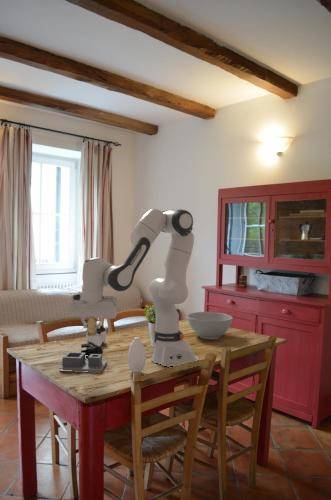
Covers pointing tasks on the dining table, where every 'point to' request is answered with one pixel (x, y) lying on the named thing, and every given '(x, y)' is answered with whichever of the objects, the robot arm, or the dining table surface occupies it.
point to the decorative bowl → (209, 324)
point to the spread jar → (97, 336)
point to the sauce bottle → (136, 355)
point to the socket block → (83, 362)
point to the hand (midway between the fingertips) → (91, 328)
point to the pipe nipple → (91, 326)
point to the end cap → (91, 349)
